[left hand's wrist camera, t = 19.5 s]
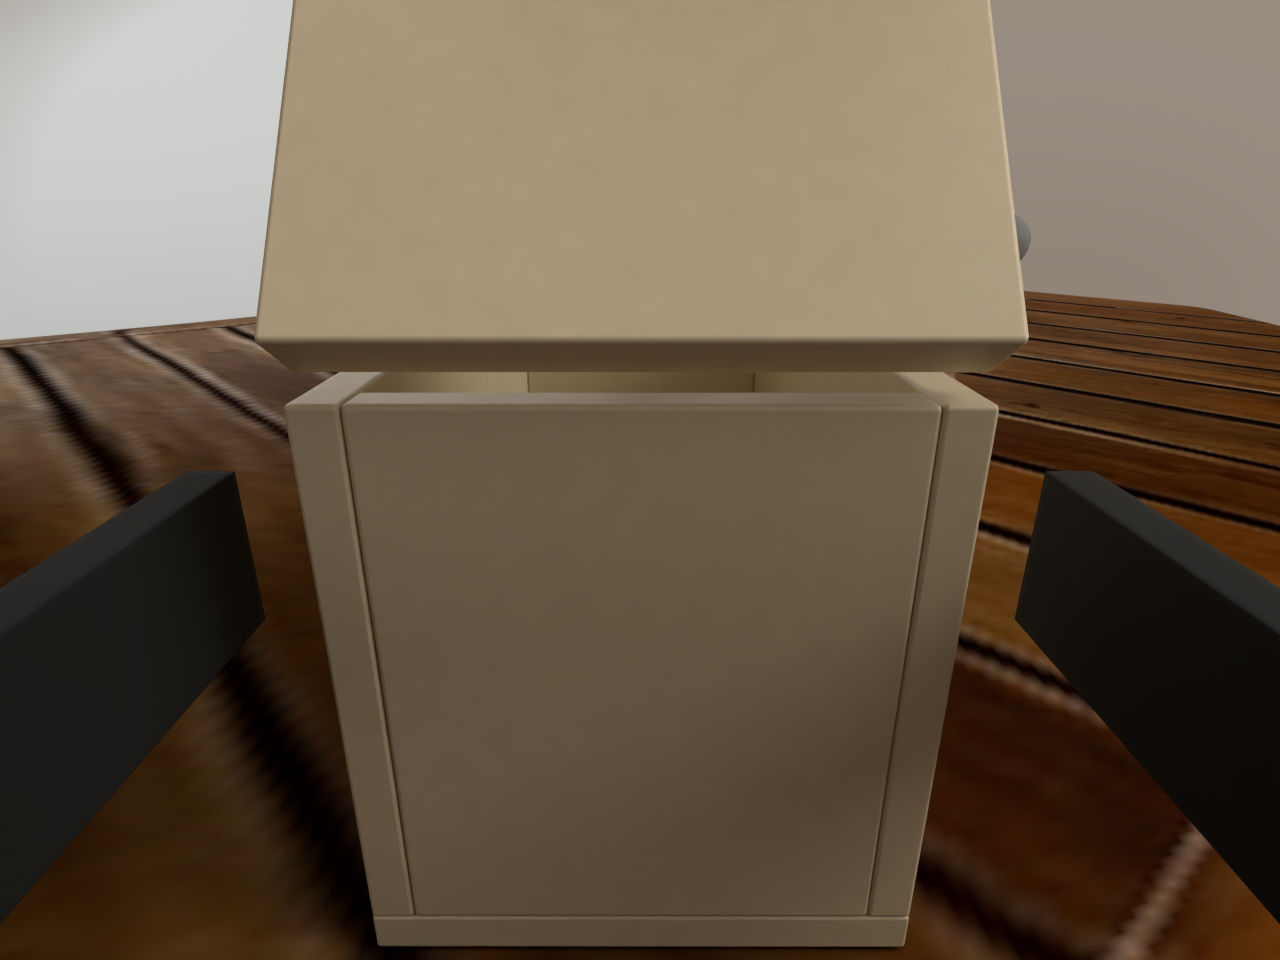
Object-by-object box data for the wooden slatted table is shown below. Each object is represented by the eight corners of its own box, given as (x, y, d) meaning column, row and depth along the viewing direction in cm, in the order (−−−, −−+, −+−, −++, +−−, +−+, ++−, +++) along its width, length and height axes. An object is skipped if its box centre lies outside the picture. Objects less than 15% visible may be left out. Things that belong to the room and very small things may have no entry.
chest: (519, 537, 29) (503, 272, 25) (762, 537, 29) (779, 272, 25) (377, 947, 13) (280, 405, 10) (904, 948, 13) (1002, 405, 10)
